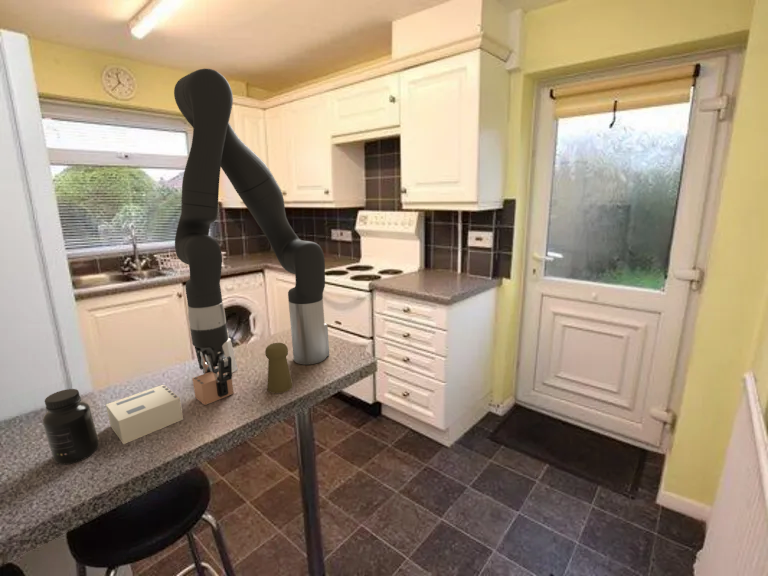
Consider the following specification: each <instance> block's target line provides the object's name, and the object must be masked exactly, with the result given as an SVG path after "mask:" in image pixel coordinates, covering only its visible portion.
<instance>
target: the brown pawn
mask: <svg viewBox="0 0 768 576" xmlns="http://www.w3.org/2000/svg"><path fill="white" fill-rule="evenodd" d="M264 353H265V354H264V355H265V357H266V358H267V360H268V361H267V362H268V363H267V367H268V368H267V389H266V390H267V391H268V392H269V393H271V394H282V393H285V392H287V391H289V390H291V389H292V388H293V387H294V385H293V381H292V376H291V372H290V371H291V370H290V368H289V364H288V359H287V356H288V355H289V349H288V346H287V345H286V343H282V342H273V343H271V344H268V345H267V346H266V348H265V352H264Z"/></svg>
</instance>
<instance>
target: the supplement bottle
mask: <svg viewBox="0 0 768 576" xmlns="http://www.w3.org/2000/svg"><path fill="white" fill-rule="evenodd" d="M44 404H45V410H46V413H45V414H44V415H43V418H42V425H43V428H44V433H45V435H46V438H47V442H48V445H49V449H50V452H51V455H52V459H53V460H54V462H55V463H56V464H60V465H69V464H74V463H77V462H80V461H82V460H84V459H87V458H88V457H90V456H91V455H92V454H93V453H95V452H96V451H97V449H98V447H99V445H100V441H99V437H98V433H97V429H96V426H95V422H94V418H93V413H92V410H91V406H90V405H89V403H86V402H85V401H82V397H81V396H80V392H79V390H78V389H77V388H67V389H63V390H59V391H56V392H54V393H51V394H50V395H48V396H47V397H46V398H45V399H44Z"/></svg>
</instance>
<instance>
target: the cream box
mask: <svg viewBox="0 0 768 576" xmlns="http://www.w3.org/2000/svg"><path fill="white" fill-rule="evenodd" d="M105 407H106V408H105V409H106V410H107V411H106V412H107V416H108V421H109V426H110V427H111V429H112V430H113V432H114V433H115V435H116V436H117V437H118V438H119V440H120V441H121V443H122V445H125V444H127V443H130V442H133V441H136V440H138V439H140V438H142V437H144V436H146V435H149V434H151V433H154V432H157V431H159V430H161V429H164V428H167V427H168V426H171V425H174V424H176V423H178V422H180V421H182V420H184V416H183V409H182V403H181V398H180V397H179V396H178V395H177V394H176V393H174V391H172V390H171V389H170V388H169V387H168V386H167V385H165V384H161V385H158V386H155V387H153V388H150V389H146V390H142V391H140V392H138V393H135V394H133V395H130V396H126V397H123V398H121V399H117V400H115V401H112V402H109V403H107V404H106V403H105Z"/></svg>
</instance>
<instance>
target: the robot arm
mask: <svg viewBox="0 0 768 576" xmlns="http://www.w3.org/2000/svg"><path fill="white" fill-rule="evenodd" d="M173 90H174V91H173V95H174V100H175V104H176V105H177V108H178V110H179V111H180V113H181V114H182V116H184V118H185V119H186V121H187V122H188V124H189V125H190V126H191V127H192V128H193V129H192V139H191V140H192V141H191V146H190V150H189V154H188V156H187V157H188V158H187V160H186V164H185V168H184V171H183V176H182V182H181V183H182V184H181V204H180V207H181V208H180V209H181V212H180V217H179V220H178V224H177V227H176V232H175V238H174V249H175V250H174V251H175V255H176V257H177V258H178V259H179V261H181V262H182V263H183V264H185V265H188V266H189V267H188V268H189V279H188V280H186V282H185V295H186V302H187V310H188V311H187V314H188V315H187V316H188V325H189V332H190V336H191V343H192V345H193V347H194V351H195V354H196V360H197V362H198V366H199V370H202V373H203V374H205V373H208V372H211V373H213V374H214V377H215V381H216V386H217V393H218V396H219V397H223V396H225V395H227V394H228V386H227V380H230V379H231V378H232V374H233V373H232V365H231V357H230V356H228V357H225V353H224V350H223V347H222V345H223V344H224V343H225V342H226V341H227V340H228V337H229V331H228V332H227V330H228V327H227V318H226V312H225V311H226V310H225V307H224V303H223V297H222V296H223V295H222V288H221V276H222V267H223V266H222V265H223V256H222V255H223V254H222V250H221V247H220V245H219V242H218V241H217V240H216V239H215V238H214V237H212V236H211V235H210V229H211V224H212V223H213V222H215V221H216V220H217V218H218V214H219V213H218V212H219V195H220V193H219V191H220V178H221V177H220V176H221V175H220V174H221V170H222V171H223V172H224V174H225V176H226V177H227V178H228V180H229V182H230V183H231V185H232V187H233V188H234V190H235V192H236V193H237V195H238V196H239V198H240V199H241V201H242V202H243V205H244V206H245V207H246V208H247V210H248V211H249V212H250V214H251V216H252V217H253V219H254V220H255V222H256V223H257V225H258V227H260V229H261V231H262V232H263V234H264V235H265V237H266V239H267V241H268V243H269V244H270V247H271V249H272V250H273V252H274V255H275V256H276V259H277V260H278V262H279V264H280V266H281V267H282V268H283V269H284V270H285V271H287V272H288V273H290V274H294V275H295V285H294V287H291V288H290V289H289V290H288V292H287V298H288V309H289V310H288V311H289V323H290V333H291V344H292V356H293V362H294V363H296V364H300V365H315V364H319V363H321V362H323V361H324V360H325V359H326V358H327V357H329V356H330V344H329V343H330V342H329V341H330V340H329V329H328V326H329V325H328V323H326V322H325V313H324V312H325V311H324V297H323V296H324V291H325V286H326V265H325V264H326V262H325V261H326V260H325V255H324V254H325V253H324V251H323V249H322V247H321V246H320V244H318V243H317V242H314V241H310V240H302V239H301V238H299V236H298V235H297V234H296V233H295V231H294V229H293V228H292V225H290V222H289V220H288V218H287V213H286V208H285V199H284V196H283V192H282V189H281V188H280V185H279V184H278V182H277V180H276V178H275V176H274V175H273V173H272V171H270V168H269V167H268V166H267V164H266V163H265V162H264V161H263V160H262V158H261V157H259V156H258V155H257V154H256V153H255V152H254V151H253V150H252V149H251V148H250V147H249V146H248V145H246V144H245V142H244V141H242V140H241V138H239V136H238V135H237V132H235V130H234V128H233V127H232V125H231V124H230V119H231V114H232V109H233V102H234V97H233V90H232V88H231V85H230V83H229V82H228V80H227V79H226V77H225V76H224V75H223V74H221V73H220V72H219V71H217V70H215V69H212V68H201V69H197V70H195V71H192V72H190V73H188V74H186V75H185V76H183V77H181V78H180V79H178V80H177V82H176V83H175V85H174V89H173ZM217 366H218V368H217ZM218 373H219V376H218ZM232 379H233V378H232Z"/></svg>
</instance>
